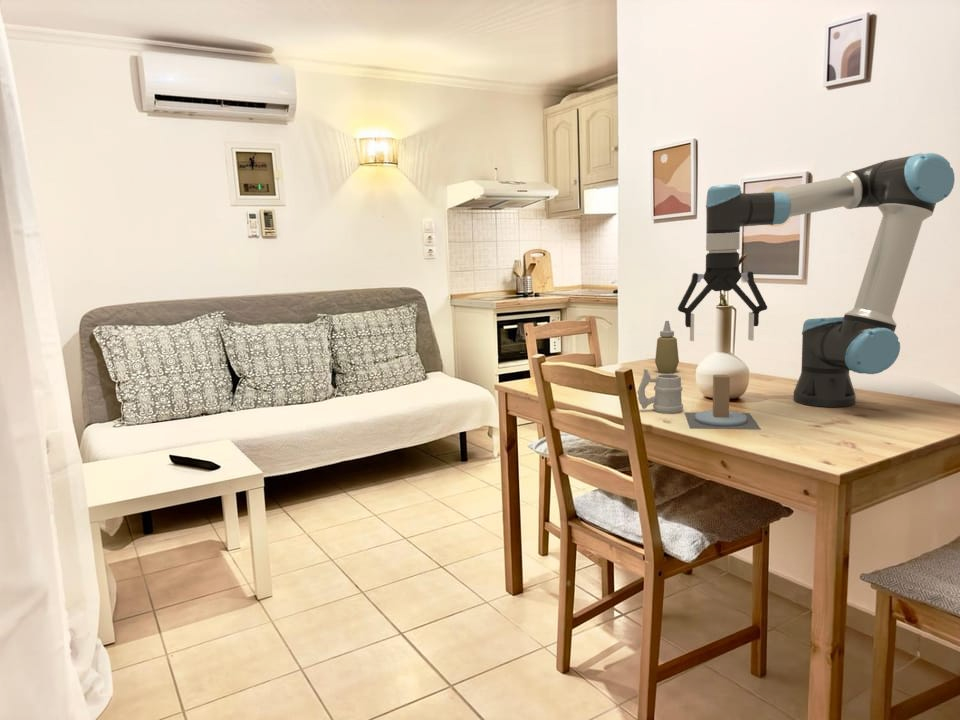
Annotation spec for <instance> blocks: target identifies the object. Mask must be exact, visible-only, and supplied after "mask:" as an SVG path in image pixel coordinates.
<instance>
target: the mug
mask: <svg viewBox="0 0 960 720" xmlns="http://www.w3.org/2000/svg"><path fill="white" fill-rule="evenodd" d="M649 383H655V385H654V387H653V390H654V396H651V397H649V398H648V397H647V395H646V393H645V392H646V387H647V386H648V385H649ZM682 391H683V386H682V379H681V376H680V375H679V374H673V373H662V374H661V373H660V374H657V375H656V376H655V377H653V376H652V377H651V374H650V372H649V370H648V369H647V368H643V375H642V378H641V381H640V383H639V386H638V389H637V395H638V397H637V398H638V400H637V401H638V402H639V403H638V404H639V405H640V406H641V408H642V409H643V410H645V409H646V408H647V407H648V406H650V405H652V406H653V409H654V412H656V413H660V414H668V415H669V414H679V413H682V410H683V409H684V404H683V402H682Z"/></svg>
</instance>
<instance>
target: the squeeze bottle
mask: <svg viewBox="0 0 960 720" xmlns="http://www.w3.org/2000/svg"><path fill="white" fill-rule="evenodd" d="M670 325H671V324H670V321H669V320H665V321H664V326H663V330H660V332H659V337H657V339H656V340H657V341H656V349H655V359H654V364H655V366H656V369H657V372H658V373H660V374H661V373H662V374H673V373H676V371H677V368H678V366H679V362H680V359H679V350H678V339H677V338H676V337H675V332H674V331H673V330H672V328H671V326H670Z"/></svg>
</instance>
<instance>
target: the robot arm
mask: <svg viewBox="0 0 960 720" xmlns="http://www.w3.org/2000/svg"><path fill="white" fill-rule="evenodd" d="M954 186H955V172H954V169H953V167H951V163H950V162H949V161H948V159H946V157H944V156H942V155H940V154H938V153H934V152H927V153H916V154H913V155H908V156H903V157H899V158H893V159H888V160H882V161H880V162H877V163H874V164H871V165H868V166H865V167H863V168H859V169H856V170H851V171H845V172H844V173H842V174H841V176H840V177H835V178H830V179H824V180H820V181H813V182H809V183H804V184H798V185H794V186H787V187H781V188H777V189H772V190H768V191H766V190H765V191H761V192H753V193H745V192H742V191H741V189H742V188H741V186H740V185H739V184H734V183H733V184H720V185H719V184H717V185H713V186H710V187H709V188H708V190H707V193H706V203H705V208H706V209H705V210H706V214H705V215H706V218H705V219H706V233H705V234H706V237H705V239H706V240H705V250H706V252H708V253H706V255H705V272H704V273H696V272H693V273H692V274H691V280H690V284H689V286H688V287H687V289H686V291H685V293H684V294H683V296H682V299H681V301H680V303H679V304H678V307H677V310H678V312H679V313H680V312H681V313H683V314H684V315H685V317H684V319H685V323H684V325H685V327H686V328H689V341H690V342H694V341H695V314H694V313H692V312H694V310H696V308H697V307H698V306H699V304H701V302H702V301H703V300H704V299H705V298H706V296H707V295H708V294H709V293H711V292H712V291H713V292H722V291H724V292H730V291H731V290H733V291H734V292H735V294H737V296H738V297H740V299H741V300H742V301H743V302H744V303H745V305H746V306H748V308H749V309H750V310H751V311H749V312H748V332H747V333H748V334H747V338H748V339H747V340H748V341H751V342H752V341H754V336H755V335H754V334H755V333H754V332H755V329H754V327H759V325H760V324H759V323H760V321H759V320H760V319H759V318H760V316H759V315H760V313H761V312H762V311H767V310H768V305H767V303H766V301H765V300H764V298H763V296H762V294H761V292H760V290H759V288H758V286H757V284H756V282H755V278H754V272H753V271H752V270H751V271H750V270H748V271H746V272H741V271H740V253H739V252H738V250H740V244H741V243H740V238H741V237H740V233H741V228H743V227H754V226H755V227H756V226H757V227H758V226H769V225H770V226H774V225H782V224H784V223H786V222H787V221H788V219H789V218H790V217H797V216H801V215H806V214H811V213H817V212H822V211H827V210H832V209H837V208H845V209H847V210H852V209H858V208H874V207H875V208H876V207H877V208H878V209H879V211H880V212H881V214H882V218H881V220H880V223H879V227H878V229H877V233H876V237H875V240H874V243H873V246H872V249H871V253H870V255H869V259H868V261H867V262H868V263H867V266H866V268H865V271H864V274H863V277H862V281H861V284H860V288H859V290H858V294H857V297H856V300H855V303H854V305H853V306H854V307H853V308H852V309H851V310H849V311H847V312H845V313H844V316H838V317H837V316H836V317H835V316H834V317H822V318H821V317H820V318H807V319H806V320H804V322H803V324H802V325H803V326H802V331H801V336H802V340H801V341H802V343H801V344H802V345H801V346H802V347H801V370H800V371H801V372H800V376H799V377H798V380H797V383H796V385H795V387H794V389H793V401H794V402H796V403H798V404H802V405H806V406H811V407H822V408H823V407H825V408H832V407H833V408H841V407H842V408H843V407H850V406H853V405H855V404H856V397H857V396H856V392H855V389H854V386H853V382H852V378H851V376H850V371H851V372H853V373H857V374H865V375H875V374H880V373H882V372H884V371H886V370H887V369H889V368H890V367H892V366H893V364H895V362H896V360H897V359H898V357H899V355H900V350H901V341H899V337H898V335H897V334H896V333H895V331H896V329H897V323H896V321H895V319H894V318H893V314H894V311H895V308H896V305H897V302H898V298H899V296H900V292H901V289H902V287H903V284H904V280H905V277H906V273H907V272H908V271H907V270H908V268H909V264H910V261H911V259H912V256H913V252H914V250H915V246H916V242H917V240H918V237H919V233H920V231H921V227H922V224H923V222H924V221H925V220H927V219H929V218H930V217H931V216H933V213H934V211H935V208H936V204H937V203H940V202H941V201H943V200H944V199H945V198H947V197H948V196H949V195H950V194H951V193H952V191H953V189H954ZM741 278H742V279H743V280H744V281H745V282H747V285H748V286H749V287H748V288H750V290H751V293H752V295H753V296H754V299H755V300H756V302H757V304H758V305H757V304H755V303H754V302H753V301H752V300H751V298H750V297H749V296H748V295H747V294H746V293H745V292H744V291H743V290H742V288H741V287H740V286H739V285H738V282H739V281H740V279H741ZM702 279H703V280H704V281H705V282H706V285H705V286H704V288H703V289H702V290H701V292H699V294H698V295H697V296H696V297H695V298H694V299H693V301H692V302H691V303H690V304H689V305H688V306H687V303H689V300H690V298H691V297H692V294H693V293H694V291H695V288H696V287H697V284H698V283H701V280H702ZM756 305H757V306H756ZM686 306H687V307H686Z"/></svg>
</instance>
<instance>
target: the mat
mask: <svg viewBox="0 0 960 720" xmlns="http://www.w3.org/2000/svg"><path fill="white" fill-rule="evenodd" d="M696 413H698V412H694V411H693V412H691V411H689V412H688V411H687V412H685V411H684V415H685V418H686V419H685V420H686V421H687V425H688V427H689V429H692V430H693V429H698V430H700V429H701V430H705V429H706V430H755V431H756V430H758V431H759V430H762V429H761V427H760V425H759V423H757V422H756V420H755V419H754V417H753V416H752V415H751V413H750V412H741V413H742V414H745V415H746V416H747V422H746V423H745V424H743V425H740V426H731V427H720V426H710V425H705V424H701V423H698V422H697V421H696V420H695V414H696Z"/></svg>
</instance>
